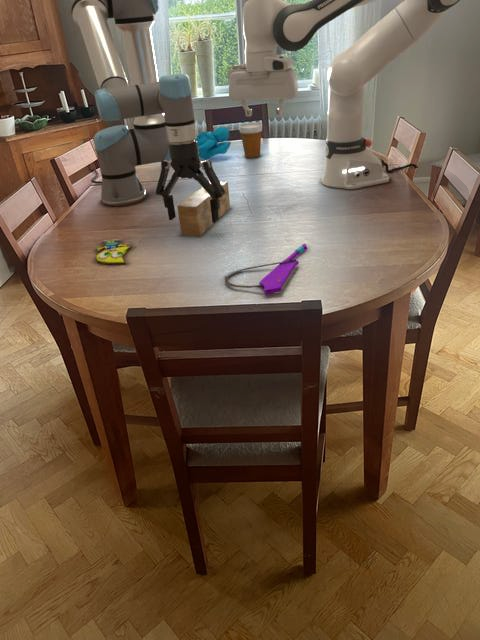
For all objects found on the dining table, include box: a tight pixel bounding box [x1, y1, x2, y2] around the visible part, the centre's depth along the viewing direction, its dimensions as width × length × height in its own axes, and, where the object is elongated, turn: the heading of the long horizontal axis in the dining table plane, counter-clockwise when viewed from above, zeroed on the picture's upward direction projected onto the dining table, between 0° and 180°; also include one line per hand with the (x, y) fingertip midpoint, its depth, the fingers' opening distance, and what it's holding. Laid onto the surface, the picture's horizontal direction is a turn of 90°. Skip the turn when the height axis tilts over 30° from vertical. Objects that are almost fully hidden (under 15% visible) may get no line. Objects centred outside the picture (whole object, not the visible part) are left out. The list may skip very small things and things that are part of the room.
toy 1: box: [95, 238, 133, 265], centre depth 129 cm, size 10×1×15 cm
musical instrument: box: [224, 243, 308, 296], centre depth 113 cm, size 24×2×20 cm
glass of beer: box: [239, 123, 263, 159], centre depth 199 cm, size 10×10×12 cm
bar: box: [176, 180, 231, 237], centre depth 141 cm, size 23×6×9 cm, turn 159°
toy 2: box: [170, 126, 232, 161], centre depth 202 cm, size 17×11×30 cm
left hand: (193, 220), depth 135 cm, fingers open, 13 cm apart
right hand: (263, 115), depth 142 cm, fingers open, 8 cm apart
